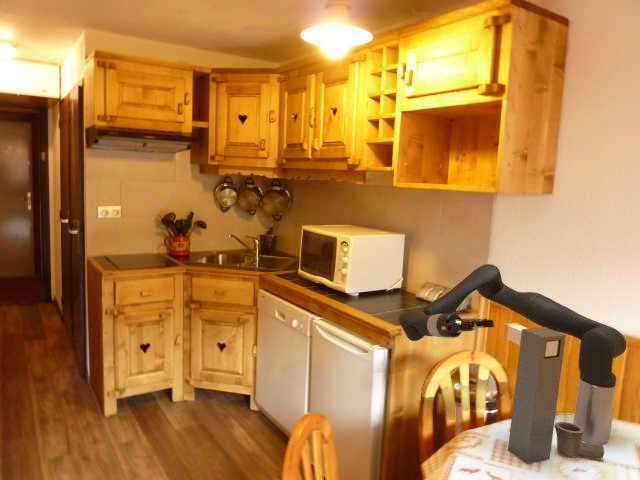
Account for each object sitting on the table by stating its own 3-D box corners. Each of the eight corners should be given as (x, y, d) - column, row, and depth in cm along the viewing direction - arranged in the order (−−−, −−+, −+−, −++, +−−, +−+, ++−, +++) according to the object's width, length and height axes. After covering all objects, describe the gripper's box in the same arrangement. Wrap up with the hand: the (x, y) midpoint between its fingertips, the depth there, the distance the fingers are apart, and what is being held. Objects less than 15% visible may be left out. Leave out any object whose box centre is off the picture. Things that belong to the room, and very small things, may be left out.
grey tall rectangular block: (529, 445, 140) (544, 327, 136) (549, 459, 134) (565, 335, 129) (507, 450, 137) (522, 328, 133) (527, 464, 131) (542, 337, 126)
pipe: (605, 465, 133) (609, 437, 132) (554, 457, 136) (557, 429, 134) (597, 453, 139) (601, 426, 138) (548, 445, 141) (551, 419, 140)
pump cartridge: (514, 337, 143) (516, 322, 143) (557, 355, 130) (559, 340, 129) (503, 338, 142) (504, 323, 141) (544, 357, 128) (546, 341, 127)
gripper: (426, 316, 157) (462, 315, 143) (459, 311, 164) (497, 309, 150) (429, 340, 156) (466, 341, 142) (462, 334, 163) (501, 335, 149)
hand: (482, 325), depth 146 cm, fingers open, 8 cm apart
